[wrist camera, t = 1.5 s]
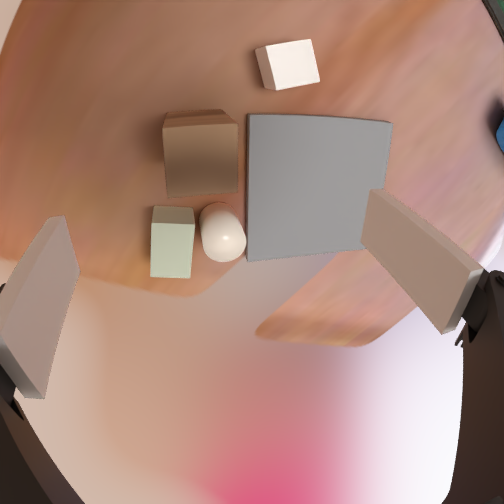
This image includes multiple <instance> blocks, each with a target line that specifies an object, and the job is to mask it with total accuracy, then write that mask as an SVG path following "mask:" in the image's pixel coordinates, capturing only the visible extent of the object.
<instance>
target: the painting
mask: <svg viewBox="0 0 504 504" xmlns="http://www.w3.org/2000/svg"><path fill="white" fill-rule="evenodd" d="M482 1H483V2H484V4H485V6H486V7H487V9H488V11H489V12H490V15H491V17H492V19H493V21H494V23H495V25H496V27H497V29H498V30H499V32H500V34H501V36H502V39H503V41H504V0H482Z"/></svg>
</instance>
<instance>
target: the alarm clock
mask: <svg viewBox="0 0 504 504" xmlns="http://www.w3.org/2000/svg"><path fill="white" fill-rule="evenodd" d="M502 110H503V111H504V109H502ZM496 137H497V141H498V144H499V146H500V147H501V149H502V151H503V152H504V119H503V121H502V123H501V124H500V126H499V128H498V130H497V133H496Z"/></svg>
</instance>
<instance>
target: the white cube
mask: <svg viewBox="0 0 504 504" xmlns="http://www.w3.org/2000/svg"><path fill="white" fill-rule="evenodd" d="M255 53H256V57H257V61H258V64H259V68H260V72H261V76H262V80H263V84H264V88H266V89H272V90H281V89H286V88H290V87H295V86H300V85H305V84H311V83H316V82H320V79H319V74H318V69H317V65H316V60H315V56H314V51H313V47H312V43H311V39H307V40H299V41H293V42H286V43H280V44H275V45H269V46H265V47H261V48H258V49H255Z"/></svg>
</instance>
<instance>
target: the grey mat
mask: <svg viewBox="0 0 504 504" xmlns="http://www.w3.org/2000/svg"><path fill="white" fill-rule="evenodd" d="M392 129H393V123H391V122H387V121H379V120H370V119H361V118H350V117H337V116H323V115H303V114H248V121H247V194H246V259H247V261H248V262H252V261H262V260H271V259H280V258H289V257H298V256H307V255H316V254H325V253H334V252H343V251H352V250H360V249H367V248H366V247H365V246H364V245H363V244H362V243H361V242H360V240H361V235H362V229H363V224H364V219H365V213H366V208H367V202H368V196H369V190H370V189H383V188H384V182H385V176H386V170H387V164H388V158H389V151H390V144H391V137H392Z"/></svg>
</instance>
